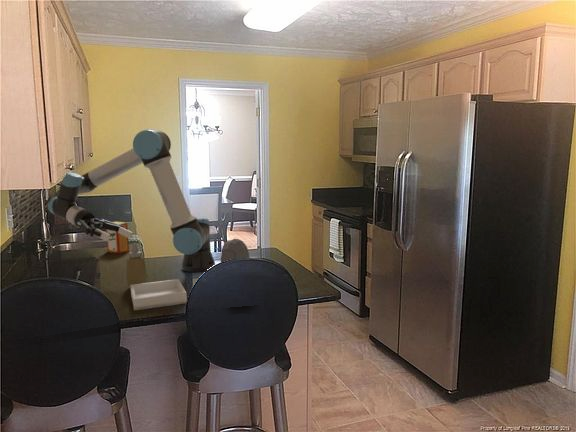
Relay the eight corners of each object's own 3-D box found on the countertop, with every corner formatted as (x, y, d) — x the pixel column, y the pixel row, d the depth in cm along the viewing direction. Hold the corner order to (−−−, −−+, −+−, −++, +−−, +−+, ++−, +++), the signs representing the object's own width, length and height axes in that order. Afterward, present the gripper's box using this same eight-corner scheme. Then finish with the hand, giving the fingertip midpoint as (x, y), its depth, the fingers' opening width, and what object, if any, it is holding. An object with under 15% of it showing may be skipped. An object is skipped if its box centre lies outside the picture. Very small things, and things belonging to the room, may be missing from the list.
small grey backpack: (237, 282, 188) (236, 234, 185) (256, 284, 185) (254, 235, 182) (218, 293, 174) (216, 242, 171) (237, 296, 171) (236, 243, 168)
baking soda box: (107, 251, 247) (105, 222, 245) (117, 249, 252) (115, 220, 250) (118, 254, 242) (116, 224, 239) (129, 251, 247) (127, 222, 245)
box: (179, 288, 181) (178, 279, 180) (187, 303, 164) (186, 292, 164) (131, 295, 174) (130, 284, 174) (134, 310, 158) (133, 299, 157)
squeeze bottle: (152, 287, 184) (149, 243, 181) (133, 291, 178) (130, 246, 175) (141, 283, 189) (138, 240, 187) (123, 287, 184) (119, 243, 181)
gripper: (100, 224, 204) (137, 242, 197) (54, 227, 180) (95, 248, 174) (104, 208, 203) (142, 226, 196) (59, 209, 179) (100, 230, 173)
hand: (120, 236), depth 185 cm, fingers open, 13 cm apart
